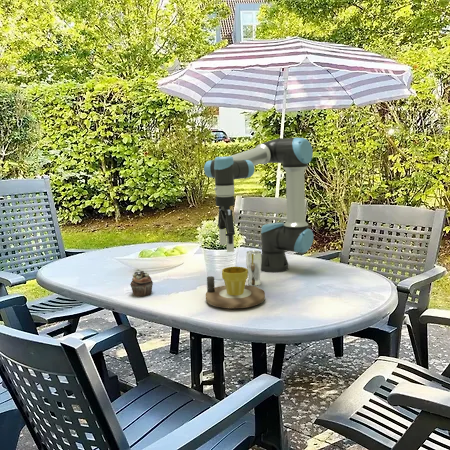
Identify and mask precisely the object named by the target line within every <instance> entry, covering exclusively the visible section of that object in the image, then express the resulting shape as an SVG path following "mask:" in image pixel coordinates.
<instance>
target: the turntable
mask: <svg viewBox="0 0 450 450" xmlns="http://www.w3.org/2000/svg"><path fill="white" fill-rule="evenodd" d="M206 288H207V289H206V290H207V291H206V293H205V302H206V303H208V304H209V305H211V306H213V307H217V308H222V309H223V308H224V309H244V308H251V307H255V306H258V305H260V304H262V303H263V302H264V301H265V300H266V293H265V290H264V289H262V288H260V287H259V286H249V285H248V284H245V288H244V292H243V294H241V295H236V296H234V295H229V294H227V290H226V286H225V285H221V286H219V285H218V286H216V287H215V277H214V276H211V275H210V276H207V277H206Z"/></svg>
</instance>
